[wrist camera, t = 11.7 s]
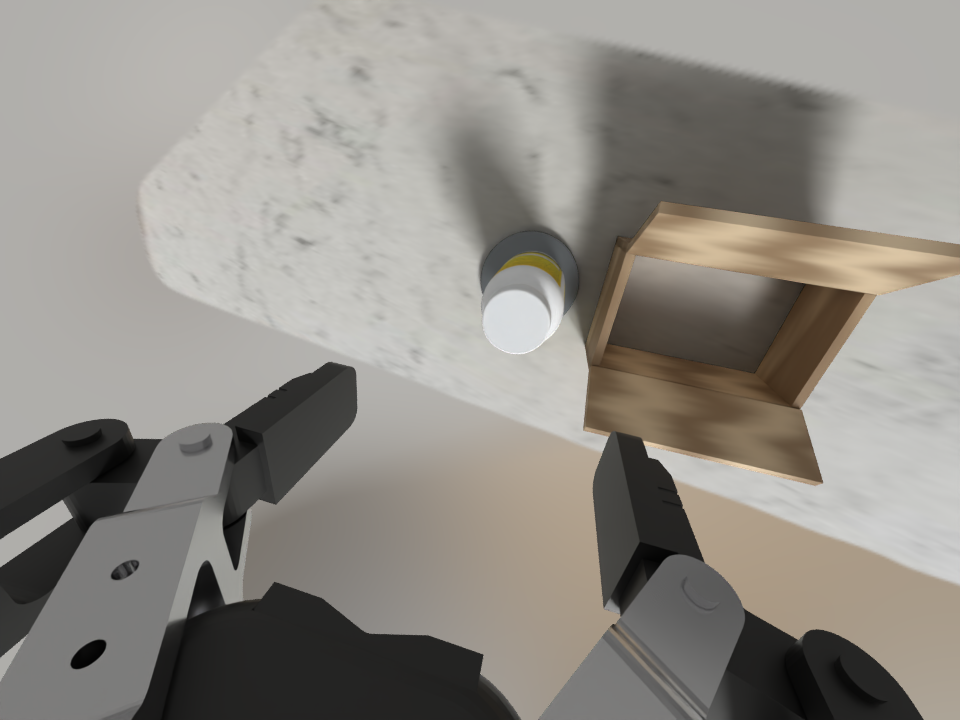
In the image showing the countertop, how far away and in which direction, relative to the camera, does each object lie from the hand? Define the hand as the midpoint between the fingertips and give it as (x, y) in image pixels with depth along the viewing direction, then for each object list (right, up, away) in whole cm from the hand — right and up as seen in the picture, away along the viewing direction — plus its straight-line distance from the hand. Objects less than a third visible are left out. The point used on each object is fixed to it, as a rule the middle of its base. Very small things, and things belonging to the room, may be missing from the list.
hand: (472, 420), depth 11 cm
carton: (+17, +6, +16) cm, 24 cm away
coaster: (+4, +8, +18) cm, 21 cm away
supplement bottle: (+4, +8, +18) cm, 20 cm away
